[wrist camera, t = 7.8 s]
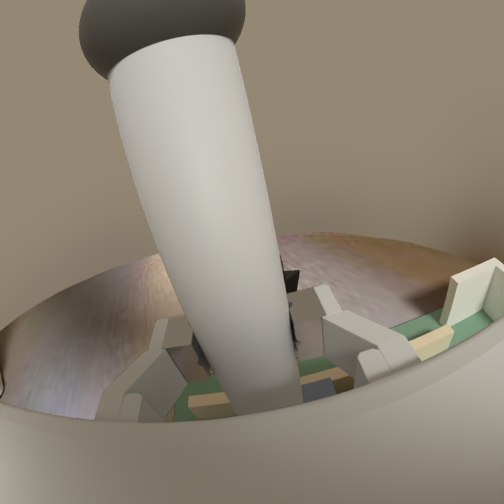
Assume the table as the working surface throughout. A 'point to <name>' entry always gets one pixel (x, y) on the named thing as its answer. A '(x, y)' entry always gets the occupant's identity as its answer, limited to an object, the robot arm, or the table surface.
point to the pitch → (321, 364)
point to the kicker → (202, 185)
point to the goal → (455, 310)
